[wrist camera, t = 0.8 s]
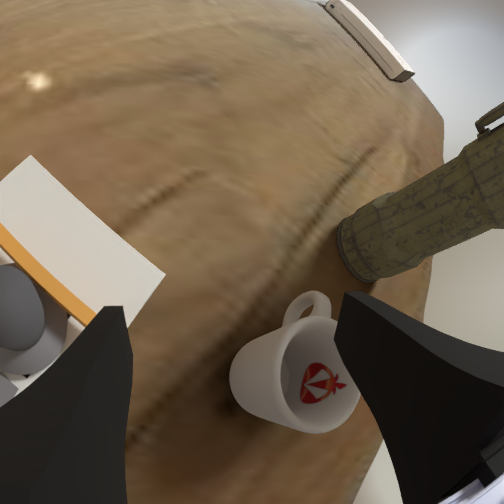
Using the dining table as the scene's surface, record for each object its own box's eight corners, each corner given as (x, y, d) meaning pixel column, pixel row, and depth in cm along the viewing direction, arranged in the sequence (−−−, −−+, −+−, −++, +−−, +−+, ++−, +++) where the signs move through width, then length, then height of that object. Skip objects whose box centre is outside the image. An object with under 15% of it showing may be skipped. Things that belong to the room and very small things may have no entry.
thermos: (375, 307, 36) (644, 191, 8) (317, 231, 35) (598, 57, 7) (395, 264, 42) (613, 156, 14) (345, 196, 40) (568, 52, 13)
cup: (240, 287, 28) (299, 257, 21) (310, 321, 30) (374, 302, 24) (203, 409, 22) (259, 422, 16) (285, 430, 25) (353, 440, 18)
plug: (35, 393, 16) (18, 405, 10) (-33, 328, 15) (-73, 309, 9) (86, 319, 20) (91, 298, 14) (20, 258, 19) (3, 213, 13)
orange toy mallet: (108, 356, 18) (113, 354, 15) (-28, 227, 15) (-38, 208, 13) (123, 334, 19) (130, 329, 16) (-11, 208, 16) (-19, 188, 14)
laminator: (402, 83, 84) (415, 73, 79) (389, 81, 76) (404, 70, 71) (339, 13, 84) (350, 2, 80) (321, 6, 77) (332, -6, 72)
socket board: (22, 491, 12) (18, 505, 10) (-110, 358, 9) (-127, 355, 7) (156, 283, 24) (166, 273, 22) (32, 172, 21) (30, 152, 18)
